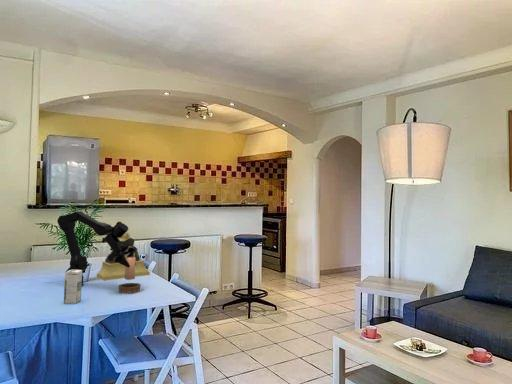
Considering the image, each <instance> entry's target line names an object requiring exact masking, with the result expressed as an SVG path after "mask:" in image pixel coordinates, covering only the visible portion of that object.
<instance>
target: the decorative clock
mask: <svg viewBox="0 0 512 384" xmlns="http://www.w3.org/2000/svg"><path fill="white" fill-rule="evenodd" d="M130 238H131V236H130V233H129V232H128V231H127V232H126V233H125V234H124V235H123V236H122V237H121V238H119V237H118V239H119V240H120V241H125V240H128V239H130ZM130 247H135V244H134V245H131V246H129V248H130ZM129 248H128V249H129ZM128 249H127V250H128ZM112 251H113V250H111V252H110V253H108V255H107V256H106V258H105V260H104V261H102V265H101V268H100V270H99V271H98V272H97V273H96V277H97V278H98V279H100V280H102V281H111V280H112V281H113V280H119V279H125V266H124V265H122V264H120V263H117V262H114V261H115V260H116V259H115V257H114V258H113V259H114V260H113V261H111V262H109V260H108V256H109V255H110V254H111V253H112ZM125 257H126V256H125ZM134 257H135V262H136V265H135V278H136V277H137V278H138V277H142V276H143V277H145V276H150V273H151V272H150V271H149V269H147V268H146V266H145V261H144V260H142V259H140V254H139V251H138V250H137V251H136V252H135V253H134Z"/></svg>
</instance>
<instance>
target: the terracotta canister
mask: <svg viewBox="0 0 512 384" xmlns="http://www.w3.org/2000/svg"><path fill="white" fill-rule="evenodd" d="M125 258H126V260H127V262H128V263H129V265H130V267H129V268H128V267H126V266H125V278H124V279H125V280H126V281H127V280H128V281H129V280H130V281H131V280H135V279H136V277H135V257H125Z"/></svg>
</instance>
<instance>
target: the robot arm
mask: <svg viewBox="0 0 512 384" xmlns="http://www.w3.org/2000/svg"><path fill="white" fill-rule="evenodd" d="M76 222H81V223H82V224H84V225H86V226H88V227H89V228H91V229H92V230H93V232H94V233H95V234H97V235H98V236H100V237H101V236H102V240H101V243H102V244H104V243H107V245H108V246H109V247H110V248H109V250H110V251H111V252H112V253H111V252H110V253H111V254H110V253H109V254H110V255H109V254H108V255H109V256H108V255H107V256H108V260H109V262H111V261H113V260H114V259H113V258H114V257H115V259H116V260H115V261H114V262H117V263H120V264H122V265H124V266H126V267H128V268H129V267H130V265H129V263H128V262H127V260H126V258H125V256H126V257H134V253H135V252H136V251H138V248H137V246H135V239H134V238H132V237H130V239H128V240H125V241H120V240H119V239H118V237H119V238H121V237H122V236H123V235H124V234H125V233H126V232H128V231H129V226H127V225H126V224H125V223H123V222H122V221H117V222H116V224H115V225H114V226H112V225H111V224H109V223H106V222H101V221H98V220H96V219H95V218H93V217H91V216H89V215H87V214H85V213H84V212H83V211H81V210H80V211H74V212H72V213H69V214H64V215H60V216H59V217H58V219H57V224H58V227H59V229H60V230H61V231H62V232H63V233H64V236H65V239H66V240H65V241H66V243H67V247H68V250H69V255H70V257H71V258H70V260H69V268H68V269H66V271H65V272H67V271H69V270H82V286H84V285H85V284H84V273H86V271H87V269H88V264H89V262H88V259H87V256H83V254H81V253H82V252H81V250H80V247H79V243H78V239H77V236H76V232H75V227H76ZM103 236H104V237H103ZM131 245H134V247H130V248H129V246H131ZM128 248H129V249H128ZM127 249H128V250H127ZM112 250H113V251H112ZM135 265H136V262H135Z"/></svg>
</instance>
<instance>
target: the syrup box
mask: <svg viewBox="0 0 512 384" xmlns="http://www.w3.org/2000/svg"><path fill="white" fill-rule="evenodd" d="M66 271H67V270H66ZM66 271H65V272H64V291H63V304H67V305H68V304H69V305H70V304H71V305H72V304H78V302H79V303H80V301H81V300H82V286H83V285H82V274H83V273H82V270H69V271H67V272H66Z"/></svg>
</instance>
